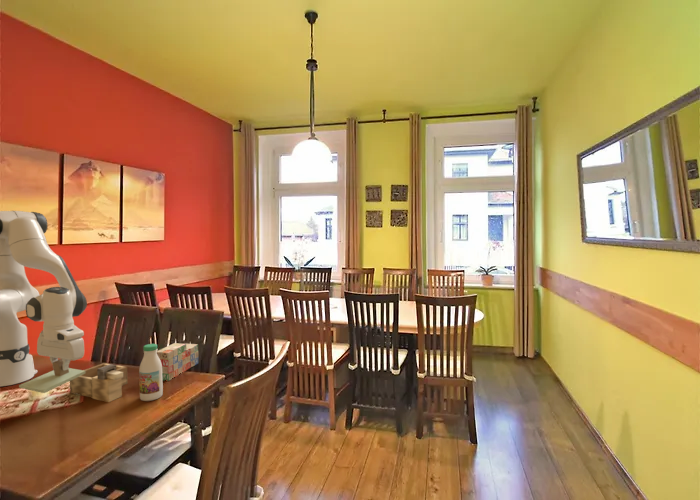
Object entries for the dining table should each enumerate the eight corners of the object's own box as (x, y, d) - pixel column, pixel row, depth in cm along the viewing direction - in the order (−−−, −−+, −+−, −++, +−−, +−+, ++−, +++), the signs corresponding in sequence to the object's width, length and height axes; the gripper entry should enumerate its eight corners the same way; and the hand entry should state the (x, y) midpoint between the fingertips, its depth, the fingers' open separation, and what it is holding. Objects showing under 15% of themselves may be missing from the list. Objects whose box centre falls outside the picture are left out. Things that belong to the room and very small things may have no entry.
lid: (19, 387, 128) (16, 371, 127) (61, 369, 141) (59, 354, 140) (44, 393, 124) (41, 376, 123) (85, 373, 137) (83, 358, 136)
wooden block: (98, 376, 138) (98, 371, 138) (105, 374, 140) (105, 368, 140) (116, 380, 135) (116, 374, 135) (123, 377, 138) (123, 372, 137)
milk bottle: (146, 392, 143) (145, 342, 142) (166, 392, 143) (165, 342, 142) (135, 401, 136) (134, 348, 135) (156, 401, 136) (155, 348, 135)
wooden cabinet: (68, 393, 142) (67, 363, 141) (104, 379, 156) (103, 351, 155) (108, 402, 135) (108, 370, 134) (143, 386, 149) (142, 357, 148)
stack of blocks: (187, 362, 176) (186, 337, 176) (198, 363, 175) (198, 337, 175) (155, 379, 155) (155, 351, 155) (168, 381, 154) (168, 352, 154)
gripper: (30, 331, 134) (32, 368, 135) (69, 336, 128) (70, 375, 128) (49, 327, 140) (51, 362, 141) (87, 332, 134) (88, 369, 134)
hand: (60, 368), depth 135 cm, fingers closed on lid, 3 cm apart
